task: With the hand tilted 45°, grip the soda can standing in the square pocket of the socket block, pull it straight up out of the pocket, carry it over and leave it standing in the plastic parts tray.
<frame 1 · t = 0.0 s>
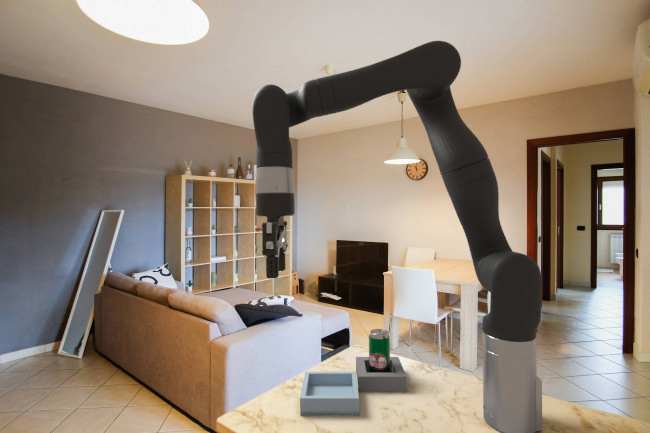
hand: (276, 274, 69), 29 cm above the table, tool pointing down, fingers open, 8 cm apart
socket block: (379, 380, 86), on the table
parts tray: (330, 399, 77), on the table
soda can: (379, 381, 86), resting in socket block
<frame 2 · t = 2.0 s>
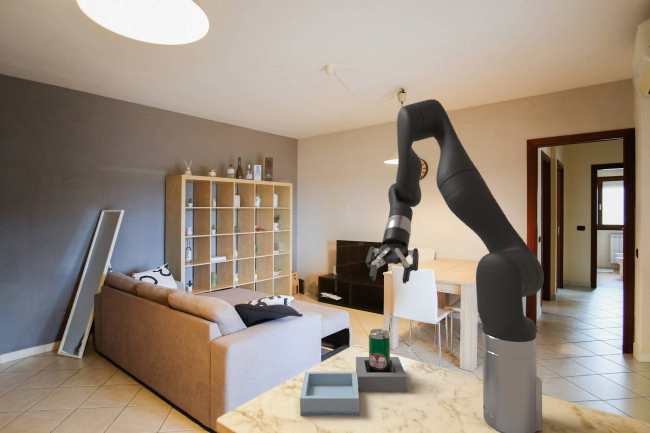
hand: (388, 280, 94), 23 cm above the table, tool tilted 45°, fingers open, 8 cm apart
nothing on the table moved.
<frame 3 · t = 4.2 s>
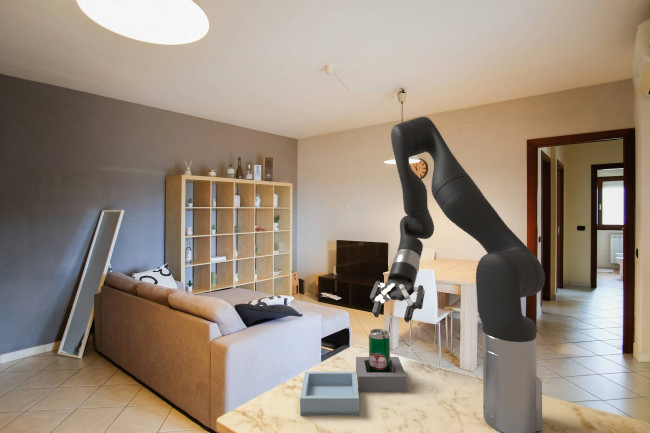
hand: (390, 318, 92), 13 cm above the table, tool tilted 45°, fingers open, 8 cm apart
nothing on the table moved.
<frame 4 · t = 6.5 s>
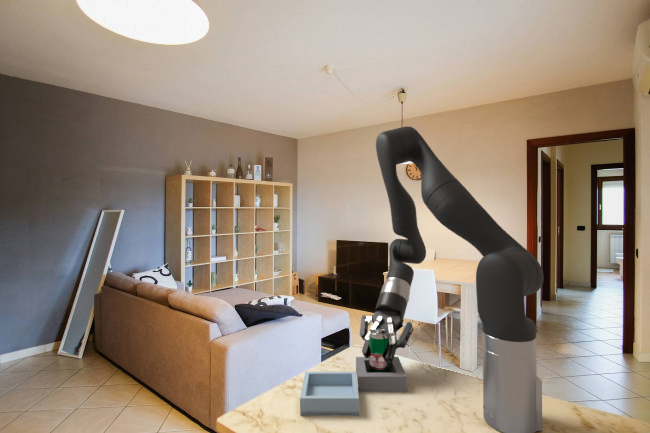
hand: (376, 358, 84), 6 cm above the table, tool tilted 45°, fingers closed on soda can, 5 cm apart
soda can: (379, 381, 86), resting in socket block, touching gripper
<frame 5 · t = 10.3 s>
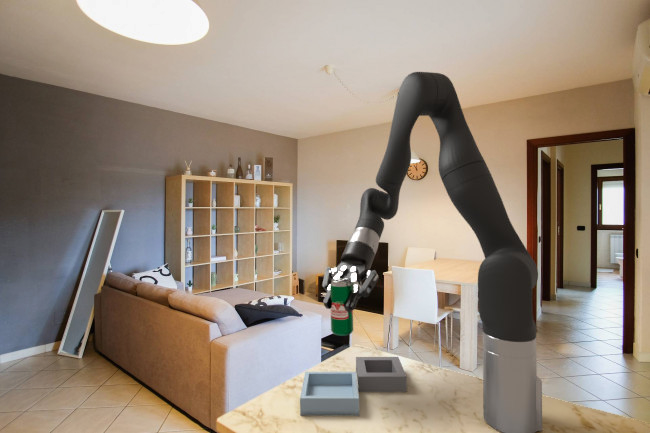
hand: (337, 308, 78), 20 cm above the table, tool tilted 45°, fingers closed on soda can, 5 cm apart
soda can: (342, 333, 80), point 14 cm above the table, touching gripper
when the fingers open (8 cm above the table, at t = 13.7 s): soda can drops 1 cm, resting on parts tray.
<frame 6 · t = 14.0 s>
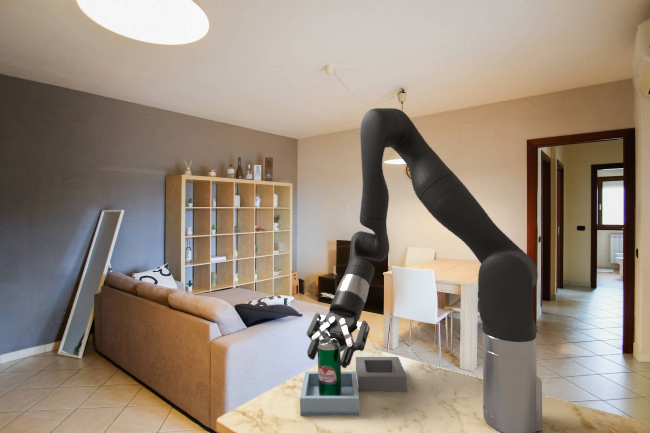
hand: (326, 362, 76), 9 cm above the table, tool tilted 45°, fingers open, 8 cm apart
soda can: (330, 396, 77), point 1 cm above the table, touching parts tray
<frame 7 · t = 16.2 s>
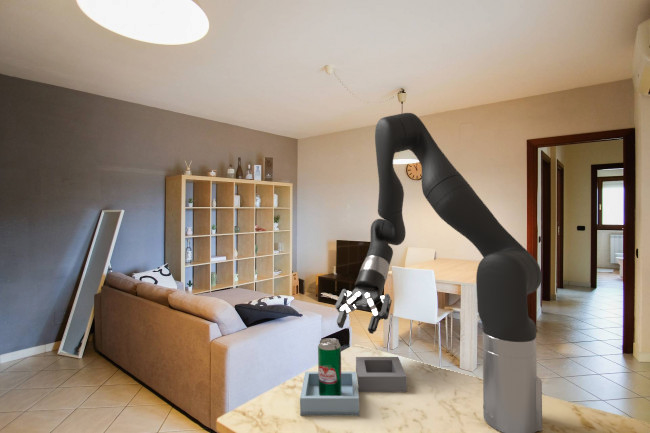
hand: (354, 329, 87), 12 cm above the table, tool tilted 45°, fingers open, 8 cm apart
nothing on the table moved.
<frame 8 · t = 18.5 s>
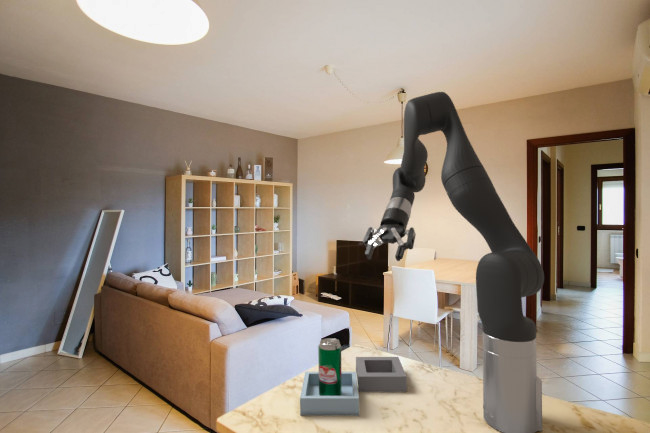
hand: (382, 258, 95), 29 cm above the table, tool tilted 45°, fingers open, 8 cm apart
nothing on the table moved.
at the end: soda can 0.3 cm off-centre on the parts tray, point 0.6 cm above the parts tray's base; soda can tilted 0°; the gripper is holding nothing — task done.
